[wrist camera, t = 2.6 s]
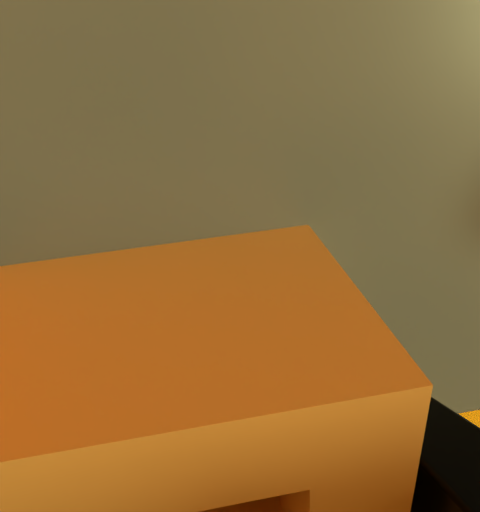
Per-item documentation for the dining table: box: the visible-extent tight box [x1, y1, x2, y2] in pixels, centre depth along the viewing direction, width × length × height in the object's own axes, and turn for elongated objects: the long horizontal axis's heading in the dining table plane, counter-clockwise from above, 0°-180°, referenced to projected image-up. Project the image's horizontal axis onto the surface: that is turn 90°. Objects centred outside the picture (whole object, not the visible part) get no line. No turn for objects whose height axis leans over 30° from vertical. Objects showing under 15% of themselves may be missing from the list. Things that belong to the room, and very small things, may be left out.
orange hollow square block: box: [0, 225, 433, 512], centre depth 7 cm, size 5×5×4 cm
